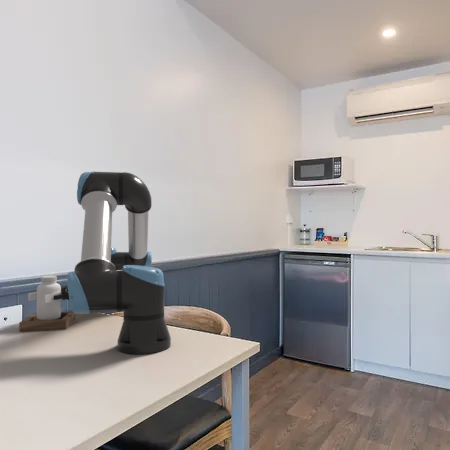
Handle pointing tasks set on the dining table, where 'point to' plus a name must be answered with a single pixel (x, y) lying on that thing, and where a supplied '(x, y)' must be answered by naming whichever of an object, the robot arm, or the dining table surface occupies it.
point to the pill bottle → (51, 308)
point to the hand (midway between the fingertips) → (36, 298)
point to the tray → (47, 322)
